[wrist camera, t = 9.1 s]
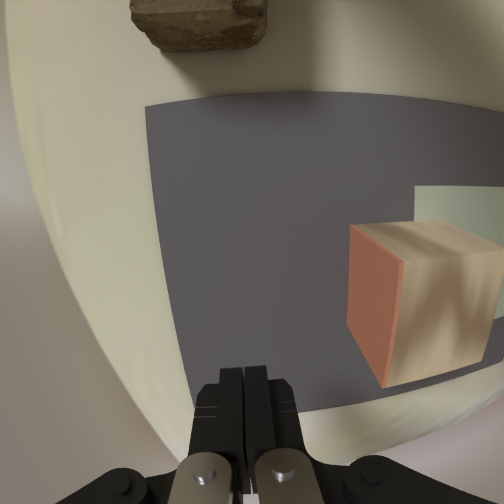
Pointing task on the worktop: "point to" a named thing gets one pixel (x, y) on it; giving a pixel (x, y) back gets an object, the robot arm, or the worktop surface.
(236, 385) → the robot arm
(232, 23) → the stone block
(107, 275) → the worktop surface
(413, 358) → the maple cube
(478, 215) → the rubber mat
